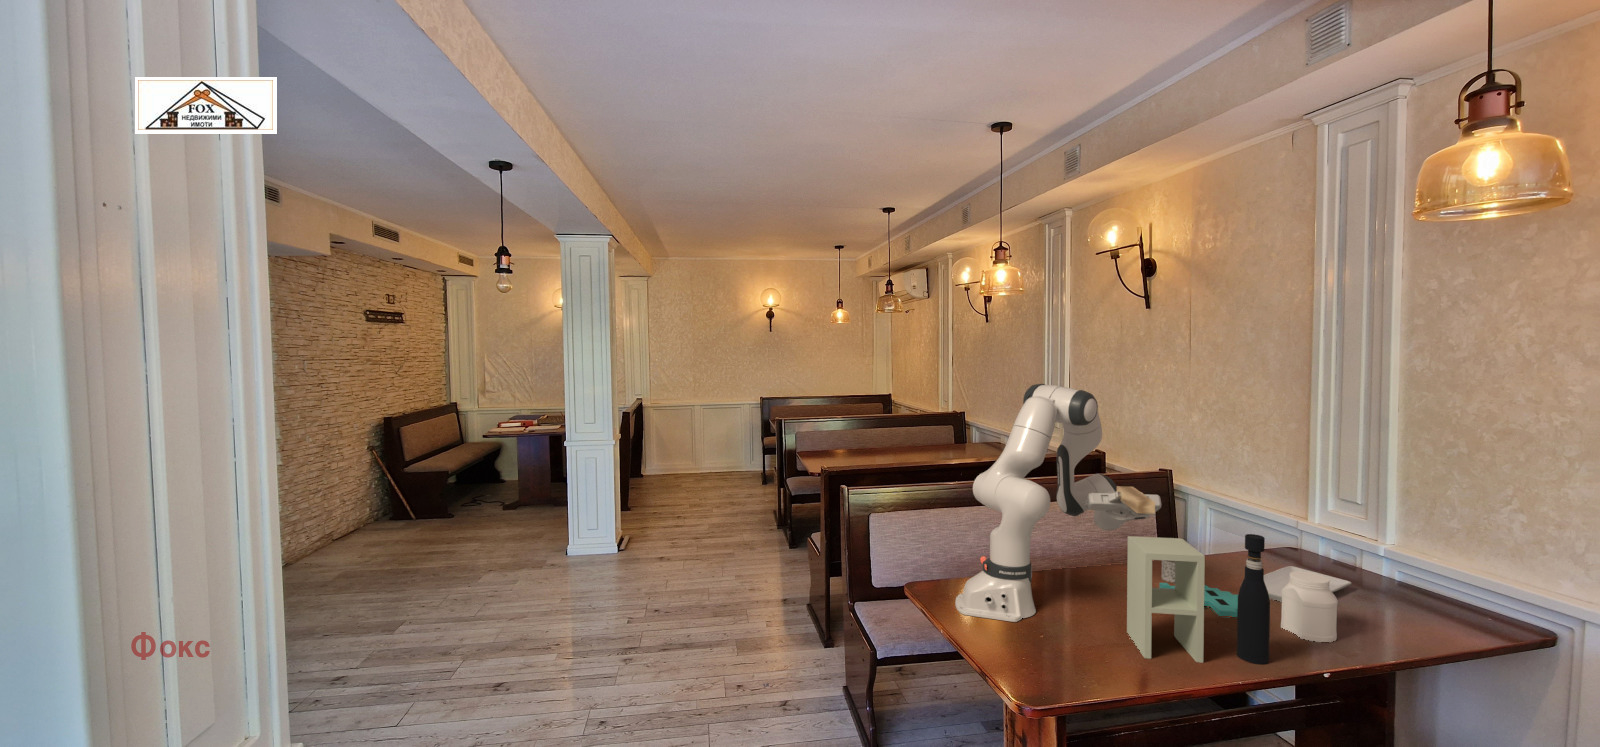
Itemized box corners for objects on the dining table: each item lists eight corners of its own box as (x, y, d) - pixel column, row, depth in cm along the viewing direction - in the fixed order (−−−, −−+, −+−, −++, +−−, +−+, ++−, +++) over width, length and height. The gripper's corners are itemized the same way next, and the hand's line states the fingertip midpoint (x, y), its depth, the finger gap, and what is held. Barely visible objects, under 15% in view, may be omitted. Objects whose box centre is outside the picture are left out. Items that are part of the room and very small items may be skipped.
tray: (1353, 592, 195) (1353, 580, 195) (1303, 614, 180) (1304, 602, 180) (1289, 575, 210) (1289, 564, 210) (1238, 594, 195) (1239, 583, 194)
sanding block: (1137, 514, 174) (1137, 501, 174) (1116, 498, 192) (1116, 486, 192) (1154, 515, 173) (1155, 502, 173) (1132, 498, 192) (1132, 486, 191)
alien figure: (1184, 616, 180) (1263, 621, 176) (1184, 608, 180) (1264, 613, 176) (1159, 589, 200) (1230, 593, 196) (1159, 582, 200) (1230, 586, 196)
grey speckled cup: (1187, 584, 202) (1187, 564, 202) (1163, 582, 204) (1163, 561, 204) (1180, 574, 211) (1181, 554, 211) (1158, 571, 214) (1158, 552, 213)
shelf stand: (1144, 658, 155) (1145, 553, 154) (1126, 632, 169) (1127, 536, 168) (1203, 662, 153) (1204, 556, 152) (1180, 636, 167) (1181, 538, 165)
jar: (1345, 642, 162) (1346, 584, 162) (1309, 643, 162) (1310, 585, 161) (1306, 622, 174) (1307, 568, 173) (1273, 624, 173) (1274, 569, 173)
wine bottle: (1230, 652, 158) (1232, 532, 156) (1254, 651, 158) (1256, 531, 157) (1250, 665, 151) (1252, 540, 150) (1275, 663, 152) (1278, 539, 151)
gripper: (1080, 496, 203) (1090, 483, 191) (1150, 498, 199) (1165, 485, 187) (1083, 516, 200) (1093, 503, 188) (1154, 518, 196) (1168, 506, 184)
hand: (1129, 494), depth 187 cm, fingers closed on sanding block, 4 cm apart
